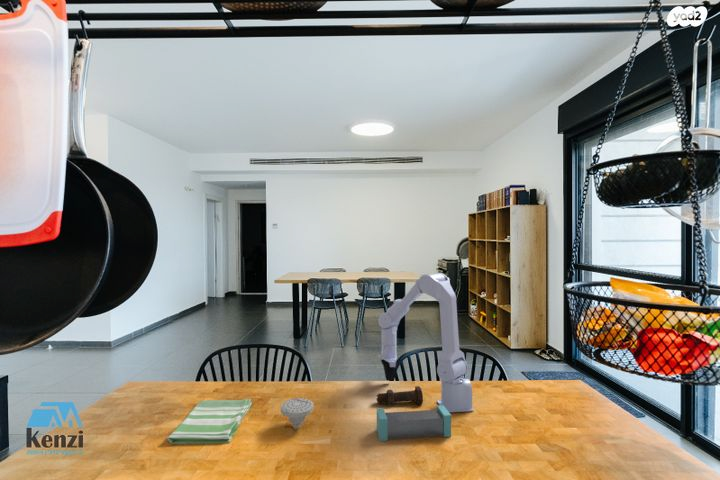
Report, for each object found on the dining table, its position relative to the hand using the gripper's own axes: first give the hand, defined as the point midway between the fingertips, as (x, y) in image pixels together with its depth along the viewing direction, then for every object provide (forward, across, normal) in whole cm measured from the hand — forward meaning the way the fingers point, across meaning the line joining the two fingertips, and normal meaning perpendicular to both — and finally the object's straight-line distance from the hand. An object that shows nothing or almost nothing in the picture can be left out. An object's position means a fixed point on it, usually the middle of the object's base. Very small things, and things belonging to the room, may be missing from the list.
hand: (388, 379), depth 136 cm
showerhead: (+2, +28, -33) cm, 43 cm away
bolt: (+2, +16, 0) cm, 16 cm away
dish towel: (+2, +22, -58) cm, 62 cm away
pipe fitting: (+2, +35, 0) cm, 35 cm away
